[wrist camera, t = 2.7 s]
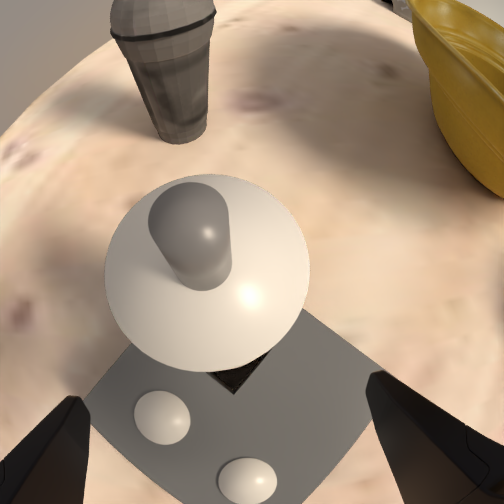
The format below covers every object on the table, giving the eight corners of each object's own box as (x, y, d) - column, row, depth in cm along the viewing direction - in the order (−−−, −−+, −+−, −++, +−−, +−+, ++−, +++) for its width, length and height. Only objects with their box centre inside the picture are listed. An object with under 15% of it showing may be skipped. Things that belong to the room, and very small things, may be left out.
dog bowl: (428, 11, 48) (434, -4, 43) (465, 47, 41) (474, 30, 36) (371, -7, 47) (376, -24, 42) (403, 24, 40) (411, 3, 35)
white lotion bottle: (234, 382, 18) (205, 441, 3) (181, 338, 19) (19, 238, 4) (276, 330, 19) (384, 202, 5) (224, 289, 20) (189, 86, 5)
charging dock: (253, 525, 14) (255, 546, 11) (97, 404, 17) (75, 408, 14) (377, 379, 18) (399, 379, 15) (222, 261, 21) (219, 243, 18)
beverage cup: (139, 114, 26) (90, -72, 8) (209, 94, 27) (198, -95, 9) (150, 167, 24) (79, -68, 5) (232, 142, 25) (232, -97, 6)
